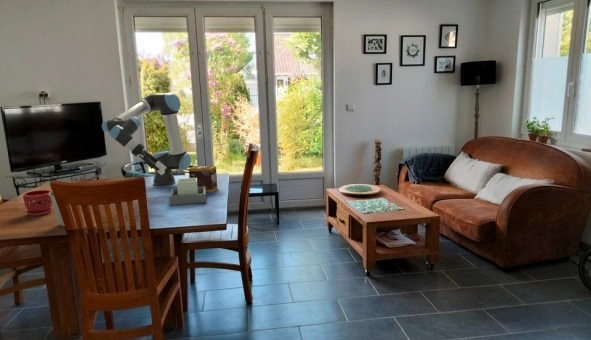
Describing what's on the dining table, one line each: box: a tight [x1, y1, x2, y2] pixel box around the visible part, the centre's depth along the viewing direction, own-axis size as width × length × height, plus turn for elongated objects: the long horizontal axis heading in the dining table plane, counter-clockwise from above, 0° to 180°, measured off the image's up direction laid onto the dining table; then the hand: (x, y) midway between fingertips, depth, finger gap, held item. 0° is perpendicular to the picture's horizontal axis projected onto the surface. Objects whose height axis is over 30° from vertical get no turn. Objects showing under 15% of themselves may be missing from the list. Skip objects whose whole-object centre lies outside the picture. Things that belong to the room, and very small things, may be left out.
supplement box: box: [188, 165, 218, 193], centre depth 259 cm, size 10×15×16 cm
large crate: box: [168, 187, 207, 207], centre depth 234 cm, size 20×20×6 cm
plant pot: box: [22, 189, 53, 217], centre depth 211 cm, size 13×13×12 cm
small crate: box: [176, 177, 198, 195], centre depth 233 cm, size 11×11×12 cm
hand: (164, 171), depth 230 cm, fingers open, 13 cm apart
